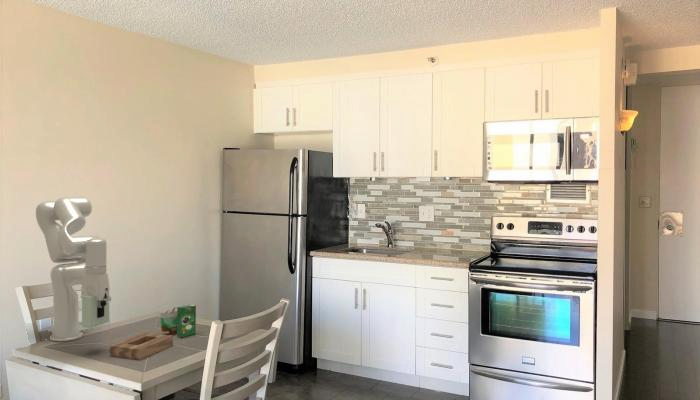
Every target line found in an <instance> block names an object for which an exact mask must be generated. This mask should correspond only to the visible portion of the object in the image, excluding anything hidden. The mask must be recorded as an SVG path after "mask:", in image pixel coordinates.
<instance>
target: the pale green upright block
mask: <svg viewBox="0 0 700 400" xmlns="http://www.w3.org/2000/svg"><path fill="white" fill-rule="evenodd" d="M105 300H106V298H105ZM101 303H102V301H101ZM81 305H82V306H81V326H82V327H81V328H85V329H92V328H96V327H98V326H101V325H103V324H104V325H105V324H107V323H109V322H110V302H108V303H107V304H106V306H105V307H104V316H103V317H100V318H97V308H99V307H98V301H97V300H95V296H89V295H85V296H82V298H81Z"/></svg>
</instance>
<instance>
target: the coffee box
mask: <svg viewBox="0 0 700 400" xmlns="http://www.w3.org/2000/svg"><path fill="white" fill-rule="evenodd" d="M196 319H197V305H196V304H189V305H188V304H187V305H182V306H177V334H176V337H177V338H179V339H181V338H185V337H189V336H193V335H196V334H197V333H196V328H197V327H196V325H197V324H196V322H197V321H196Z"/></svg>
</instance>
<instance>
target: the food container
mask: <svg viewBox="0 0 700 400" xmlns="http://www.w3.org/2000/svg"><path fill="white" fill-rule="evenodd" d="M177 307H178V306H177ZM177 307H174V306H173V309H171V310H167V311H165V312H160V315H159V319H160V328H161V334H163V335H172V336H174V335H177Z"/></svg>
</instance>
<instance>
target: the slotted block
mask: <svg viewBox="0 0 700 400" xmlns="http://www.w3.org/2000/svg"><path fill="white" fill-rule="evenodd" d="M173 337H174V335H163V334H162V333H161V334H160V333H150V332H142V333H139V334H136V335H134V336H131V337H128V338H126V339H123V340H121V341H119V342H116V343H114V344H111V345H109V357H113V358H114V357H115V358H121V359H131V360H137V361H138V360H139V361H141V360H143V359H146V358H148V357H151V356H152V355H154V354H156V353H159V352H161V351H164V350H166V349H168V348H170V347H173V344H174V342H173V341H174V338H173Z"/></svg>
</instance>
